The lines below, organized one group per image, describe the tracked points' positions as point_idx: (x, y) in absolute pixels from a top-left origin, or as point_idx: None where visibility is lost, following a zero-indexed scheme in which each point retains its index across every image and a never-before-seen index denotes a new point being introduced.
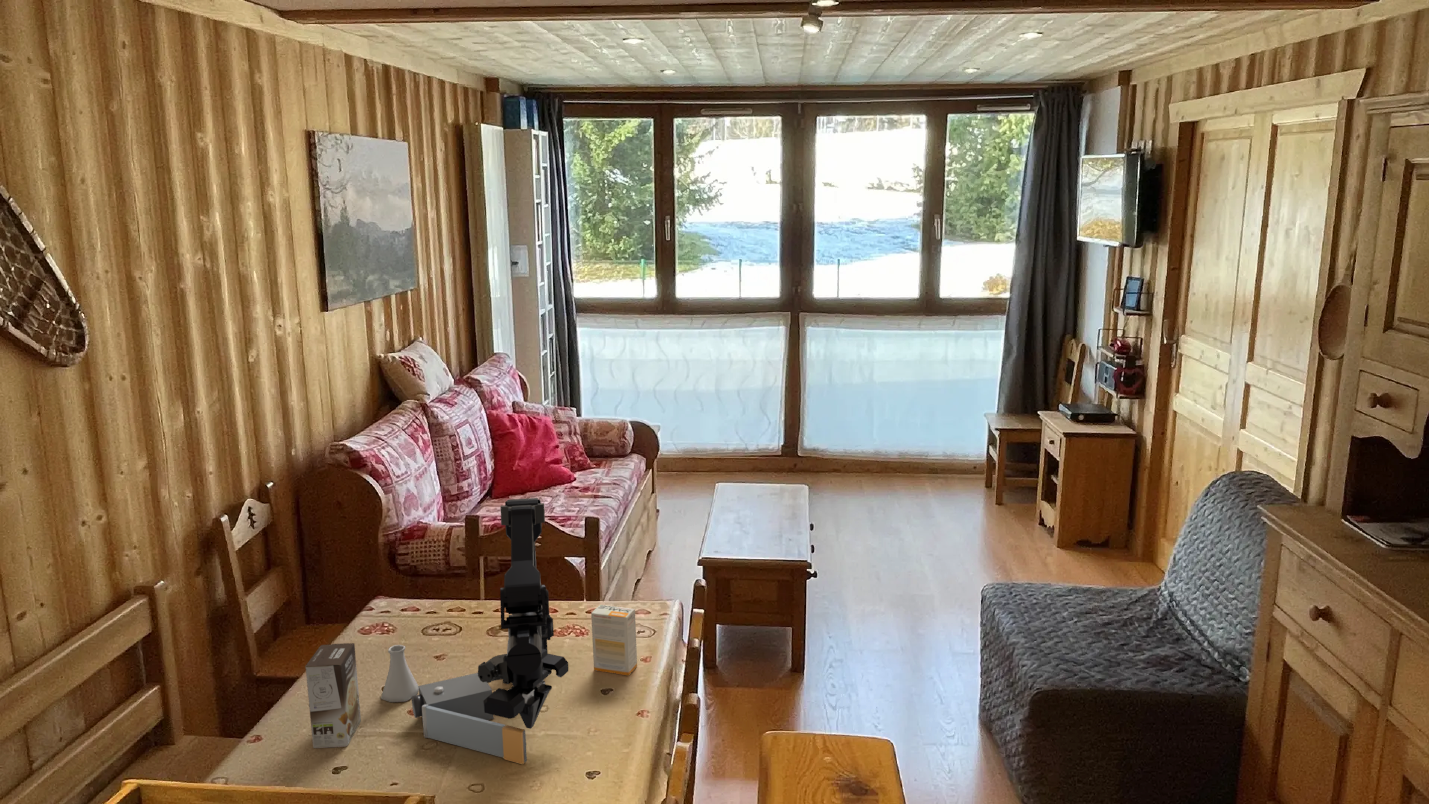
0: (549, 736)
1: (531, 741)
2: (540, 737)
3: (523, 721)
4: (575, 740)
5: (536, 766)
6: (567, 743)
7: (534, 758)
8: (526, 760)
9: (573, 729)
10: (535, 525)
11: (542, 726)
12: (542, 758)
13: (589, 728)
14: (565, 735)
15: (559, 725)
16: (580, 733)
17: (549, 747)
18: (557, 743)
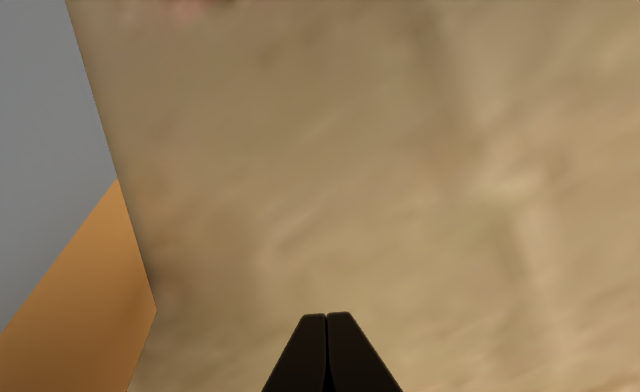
0: (480, 252)
1: (376, 190)
2: (448, 211)
3: (272, 374)
4: (487, 384)
5: (160, 364)
6: (443, 369)
7: (217, 316)
8: (153, 312)
9: (602, 321)
10: None
11: (600, 134)
12: (243, 348)
13: (630, 378)
14: (522, 320)
15: (636, 229)
16: (566, 369)
17: (363, 319)
18: (422, 330)
